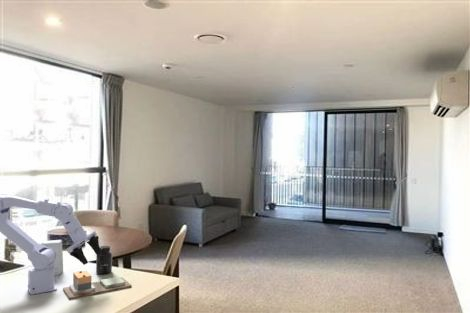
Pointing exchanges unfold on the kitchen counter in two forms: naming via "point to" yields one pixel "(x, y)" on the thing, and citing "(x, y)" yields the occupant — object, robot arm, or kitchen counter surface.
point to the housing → (82, 280)
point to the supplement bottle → (104, 261)
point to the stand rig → (97, 287)
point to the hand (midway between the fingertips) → (92, 258)
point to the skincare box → (57, 247)
